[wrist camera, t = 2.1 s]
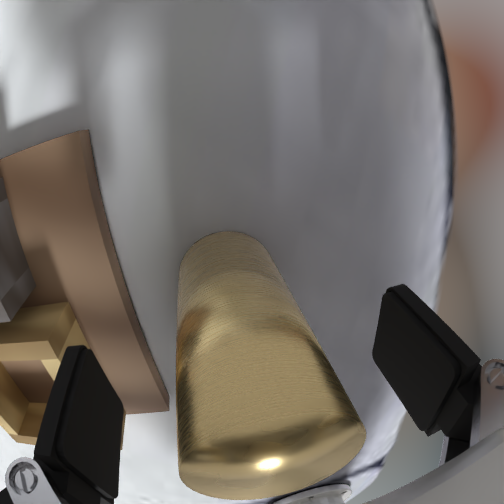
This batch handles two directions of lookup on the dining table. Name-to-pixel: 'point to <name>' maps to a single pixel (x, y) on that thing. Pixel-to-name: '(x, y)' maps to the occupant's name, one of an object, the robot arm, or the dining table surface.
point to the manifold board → (63, 287)
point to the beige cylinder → (253, 379)
